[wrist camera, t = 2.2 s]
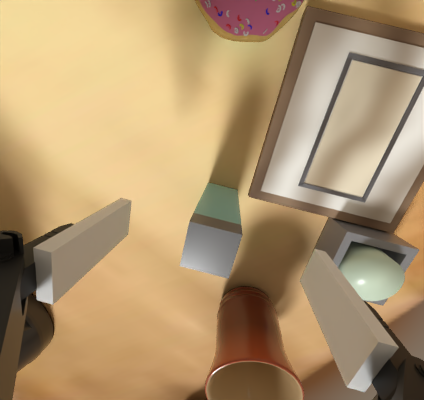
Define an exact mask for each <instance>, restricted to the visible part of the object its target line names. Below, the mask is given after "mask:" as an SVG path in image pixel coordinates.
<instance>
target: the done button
mask: <svg viewBox="0 0 424 400" xmlns="http://www.w3.org/2000/svg"><path fill="white" fill-rule="evenodd" d="M338 268H339V270H340V271H341V272H342V274H343V275H344V276H345V278H346V279H347V280H348V282H349V283H350V284H351V285H352V287H353V288H354V289H355V291H356V292H357V293H358V295H359V296H360V297H361V299H362V300H366V301H380V300H384V299H386V298H389V297H391V296H392V295H394V294H395V293H396V292H398V290H399V289H400V288H401V287H402V285H403V283H404V279H405V275H404V271H403V269H402V267H401V266H400V265H399V264H398V263H397V262H395V261H394V260H393V259H391V258H390V257H389V256H388V255H386V254H385V253H384V252H382V251H381V250H380V249H378V248H377V247H374V246H370V245H366V244H362V243H358V242H354V241H351V243H350V245H349V247H348V249H347V251H346V253H345V255H344V257H343V259H342V261H341V263H340V265H339V266H338Z"/></svg>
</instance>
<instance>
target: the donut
mask: <svg viewBox="0 0 424 400" xmlns="http://www.w3.org/2000/svg"><path fill="white" fill-rule="evenodd" d="M195 1H196V3H197V5H198V7H199V9H200V11H201V12H202V14H203V15H204V17H205V19H206V20H207V22H208V24H209V26H210V28H211V29H212V30H213V31H214V32H215V33H216V34H218V35H219V36H221V37H222V38H225V39H228V40H232V41H239V42H263V41H266V40H267V39H269V38H270V37H271V36H272V35H274V34H275V33H276V32H277V31H278V30H279V29H281V28H282V27H283V26H284V25H285V24H286V23H287V22H288V21H289V20H290V19H291V18H292V17H293V15H294V14H295V13H296V12H297V10H298V9H299V7H300V6H301V4H302V3H303V1H304V0H195Z"/></svg>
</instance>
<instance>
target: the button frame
mask: <svg viewBox="0 0 424 400" xmlns="http://www.w3.org/2000/svg"><path fill="white" fill-rule="evenodd" d="M351 241H354V242H358V243H362V244H366V245H370V246H374V247H377V248H378V249H380V250H381V251H382V252H384V253H385V254H386V255H388V256H389V257H390V258H391V259H393V260H394V261H395V262H397V263H398V264H399V265H400V266H401V267H402V269H403V271H404V273H405V271H406V270H407V268H408V267H409V265H410V264H411V262H412V260H413V259H414V257H415V256H416V254H417V253H418V251H419V249H417V248H416V247H414V246H412V245H411V244H409V243H407V242H406V241H404V240H403V239H401V238H399V237H398V236H396V235H394V234H393V233H390V232H386V231H382V230H378V229H375V228H371V227H367V226H363V225H359V224H355V223H351V222H347V221H343V220H339V219H335V218H331V217H329V218H328V220H327V222H326V225H325V227H324V229H323V231H322V233H321V236H320V238H319V240H318V242H317V244H316V247H315V249H318V250H322V251H325V252H326V253H327V254H328V255H329V257H330V258H331V259H332V261H333V262H334V263H335V265H336V266H337V267H338V266H339V265H340V263H341V261H342V259H343V257H344V255H345V253H346V251H347V249H348V247H349V245H350V243H351ZM387 299H388V298H386V299H384V300H380V301H367V302H371V303H375V304H379V305H384V303H385V302H386V300H387ZM363 301H366V300H363Z"/></svg>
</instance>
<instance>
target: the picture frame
mask: <svg viewBox="0 0 424 400" xmlns="http://www.w3.org/2000/svg"><path fill="white" fill-rule="evenodd" d="M423 182H424V34H423V33H419V32H415V31H411V30H407V29H402V28H398V27H394V26H390V25H385V24H381V23H377V22H373V21H369V20H364V19H360V18H356V17H352V16H348V15H343V14H339V13H335V12H331V11H327V10H322V9H318V8H314V7H310V6H307V8H306V10H305V11H304V13H303V17H302V20H301V23H300V26H299V30H298V33H297V36H296V39H295V43H294V46H293V49H292V52H291V56H290V59H289V62H288V66H287V69H286V72H285V75H284V79H283V82H282V85H281V88H280V92H279V95H278V98H277V102H276V105H275V108H274V111H273V115H272V118H271V121H270V124H269V128H268V131H267V134H266V138H265V141H264V144H263V147H262V151H261V154H260V157H259V160H258V164H257V167H256V170H255V173H254V177H253V180H252V183H251V187H250V190H249V193H248V196H249V197H252V198H255V199H259V200H263V201H267V202H271V203H275V204H279V205H283V206H287V207H291V208H295V209H299V210H303V211H307V212H311V213H315V214H319V215H323V216H327V217H331V218H335V219H339V220H343V221H347V222H351V223H355V224H359V225H363V226H367V227H371V228H375V229H378V230H382V231H386V232H390V233H394V231H395V229H396V228H397V226H398V224H399V222H400V221H401V219H402V217H403V216H404V214H405V212H406V211H407V209H408V207H409V205H410V204H411V202H412V200H413V199H414V197H415V195H416V193H417V192H418V190H419V188H420V187H421V185H422V183H423Z"/></svg>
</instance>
